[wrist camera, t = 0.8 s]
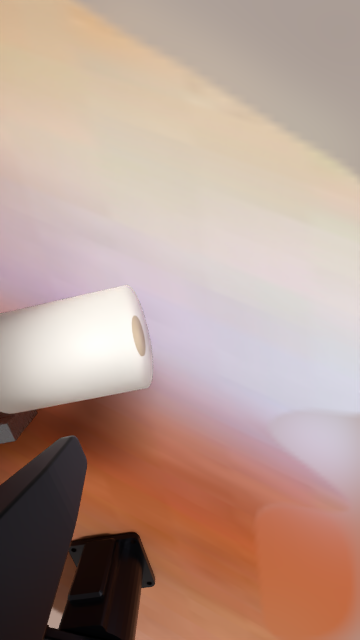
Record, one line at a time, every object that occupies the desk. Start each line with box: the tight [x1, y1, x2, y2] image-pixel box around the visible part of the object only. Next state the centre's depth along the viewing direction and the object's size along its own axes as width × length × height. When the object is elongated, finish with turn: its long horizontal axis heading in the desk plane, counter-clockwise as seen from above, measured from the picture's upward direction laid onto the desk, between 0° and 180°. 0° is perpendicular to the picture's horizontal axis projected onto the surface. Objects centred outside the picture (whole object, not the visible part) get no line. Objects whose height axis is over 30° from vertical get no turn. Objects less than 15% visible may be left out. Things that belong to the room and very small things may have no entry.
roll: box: [0, 285, 153, 414], centre depth 17 cm, size 8×6×6 cm
